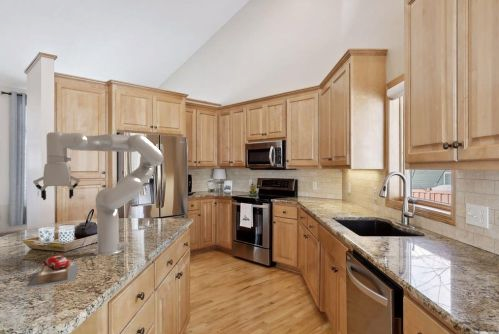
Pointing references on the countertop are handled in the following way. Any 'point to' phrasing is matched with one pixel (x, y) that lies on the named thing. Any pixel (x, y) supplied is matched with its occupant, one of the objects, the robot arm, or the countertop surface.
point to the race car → (56, 262)
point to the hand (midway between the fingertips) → (57, 199)
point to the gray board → (71, 278)
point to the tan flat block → (53, 274)
